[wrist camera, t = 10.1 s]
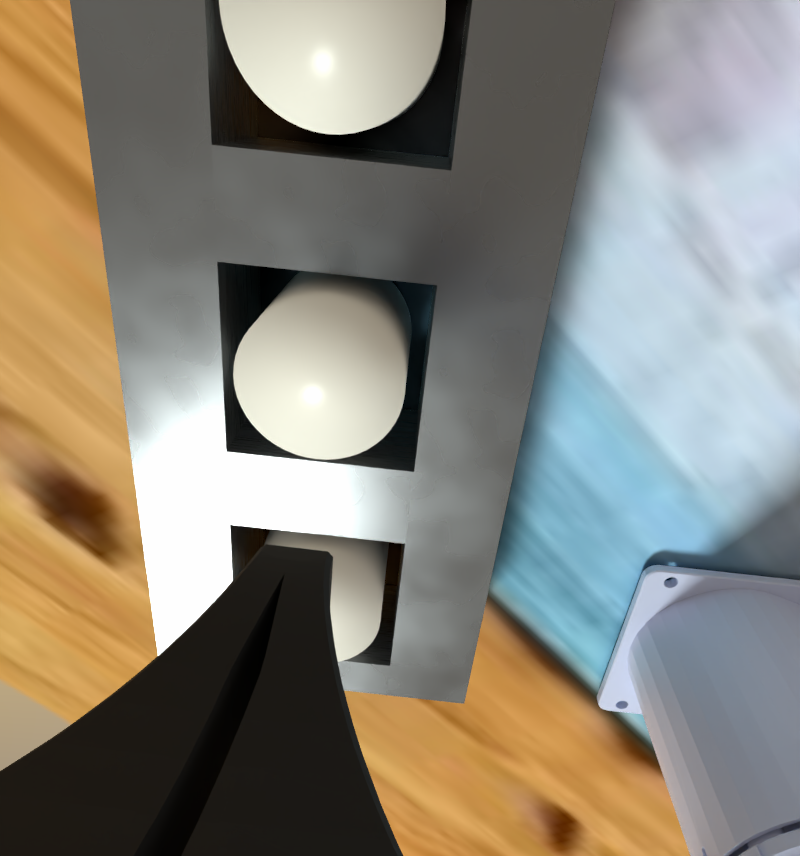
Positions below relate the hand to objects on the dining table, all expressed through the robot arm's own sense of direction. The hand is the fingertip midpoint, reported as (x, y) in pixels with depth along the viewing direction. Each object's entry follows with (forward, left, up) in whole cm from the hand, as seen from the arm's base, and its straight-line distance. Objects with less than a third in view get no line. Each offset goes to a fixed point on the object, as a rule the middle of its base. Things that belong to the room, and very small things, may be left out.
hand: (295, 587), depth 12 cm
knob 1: (+1, -10, -10) cm, 14 cm away
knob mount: (+1, -2, -10) cm, 10 cm away
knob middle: (+1, -2, -10) cm, 10 cm away
